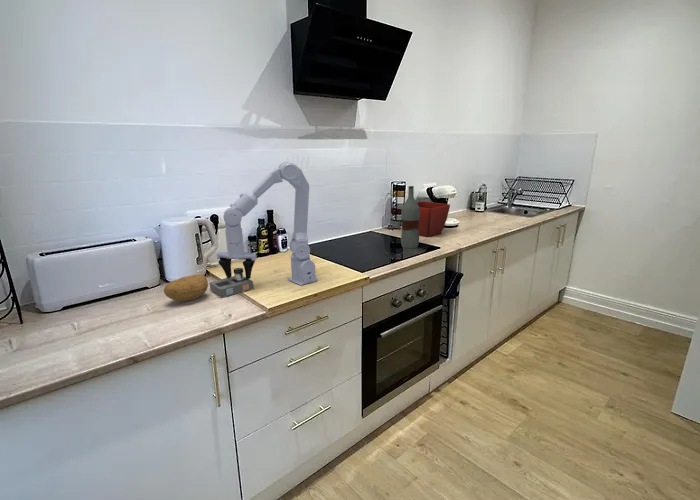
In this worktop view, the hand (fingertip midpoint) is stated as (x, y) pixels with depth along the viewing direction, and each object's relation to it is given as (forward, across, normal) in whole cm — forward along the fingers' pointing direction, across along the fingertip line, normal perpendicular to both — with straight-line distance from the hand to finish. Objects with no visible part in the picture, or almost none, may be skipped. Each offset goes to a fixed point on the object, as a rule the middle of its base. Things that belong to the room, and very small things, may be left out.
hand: (238, 278), depth 136 cm
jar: (+4, 0, 0) cm, 4 cm away
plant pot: (+4, -65, -96) cm, 116 cm away
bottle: (+4, -58, -67) cm, 88 cm away
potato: (+4, +12, +14) cm, 18 cm away
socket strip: (+4, +2, +2) cm, 5 cm away
